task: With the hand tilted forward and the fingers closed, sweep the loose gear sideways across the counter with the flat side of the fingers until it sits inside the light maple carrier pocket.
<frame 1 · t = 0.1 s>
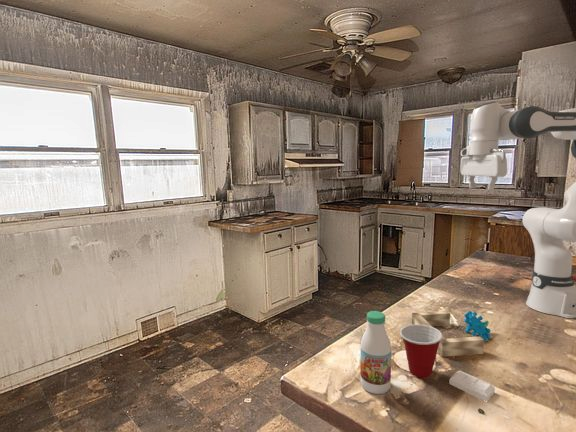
hand: (481, 188, 118), 48 cm above the countertop, tool pointing down, fingers open, 8 cm apart
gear: (477, 336, 109), on the countertop
milk bottle: (375, 385, 86), on the countertop
soap bar: (471, 390, 84), on the countertop
plastic cup: (419, 372, 91), on the countertop
carrier pocket: (444, 337, 108), on the countertop
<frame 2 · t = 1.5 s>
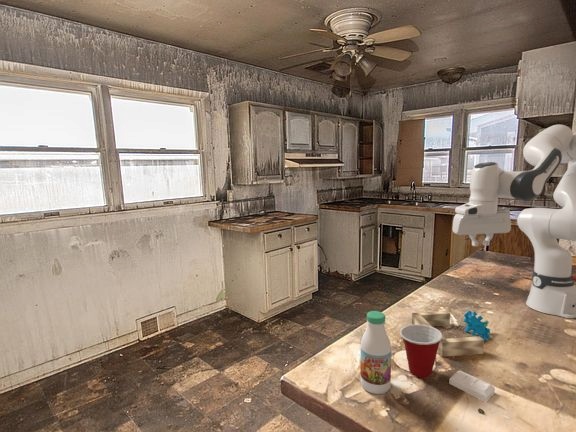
hand: (480, 245, 119), 27 cm above the countertop, tool pointing down, fingers open, 3 cm apart
nothing on the countertop moved.
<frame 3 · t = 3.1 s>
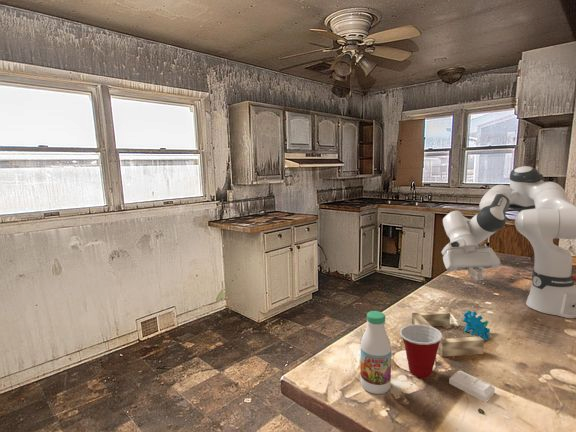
hand: (479, 279, 120), 14 cm above the countertop, tool tilted 45°, fingers closed
nothing on the countertop moved.
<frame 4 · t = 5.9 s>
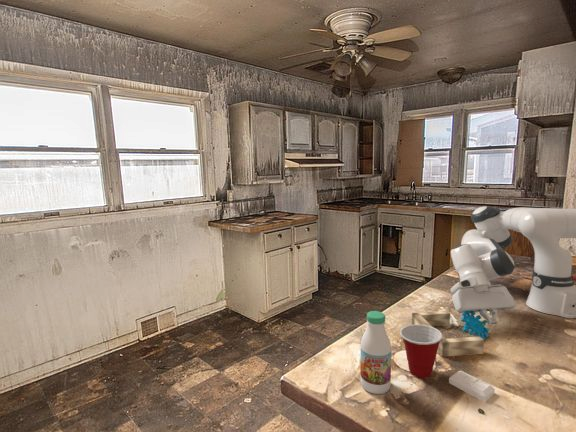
hand: (493, 323, 109), 4 cm above the countertop, tool tilted 45°, fingers closed
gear: (475, 335, 109), on the countertop, touching gripper
everything else where it was.
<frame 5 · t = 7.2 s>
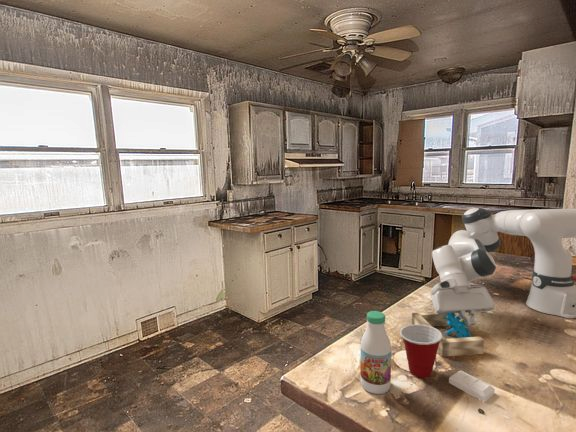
hand: (471, 325, 108), 4 cm above the countertop, tool tilted 45°, fingers closed
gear: (458, 337, 108), on the countertop, touching gripper
everything else where it was.
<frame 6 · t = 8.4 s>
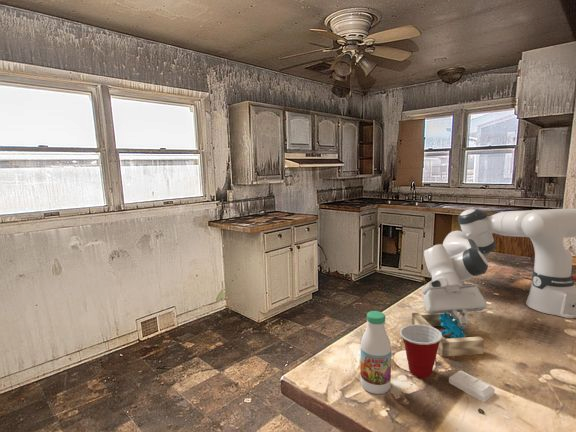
hand: (463, 324, 107), 4 cm above the countertop, tool tilted 45°, fingers closed
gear: (452, 337, 108), on the countertop, touching gripper
everything else where it was.
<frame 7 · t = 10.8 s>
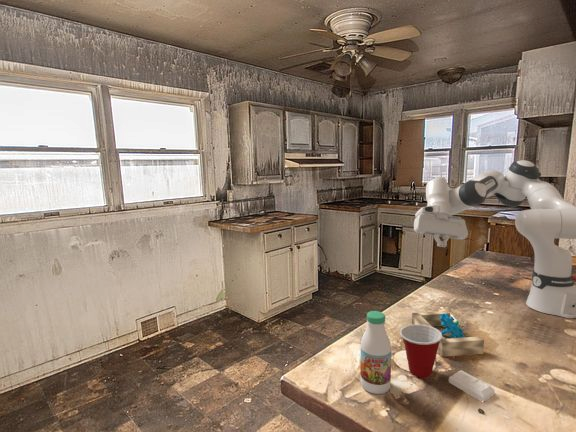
hand: (442, 246, 124), 26 cm above the countertop, tool tilted 35°, fingers closed
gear: (452, 338, 108), on the countertop
everything else where it was.
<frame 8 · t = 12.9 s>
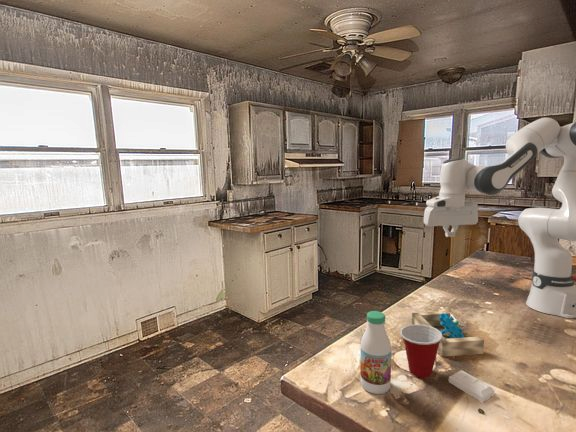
hand: (449, 236, 126), 29 cm above the countertop, tool pointing down, fingers closed
nothing on the countertop moved.
at the end: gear inside the target area (2.9 cm from its centre), on the countertop; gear moved 8.9 cm from its start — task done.
